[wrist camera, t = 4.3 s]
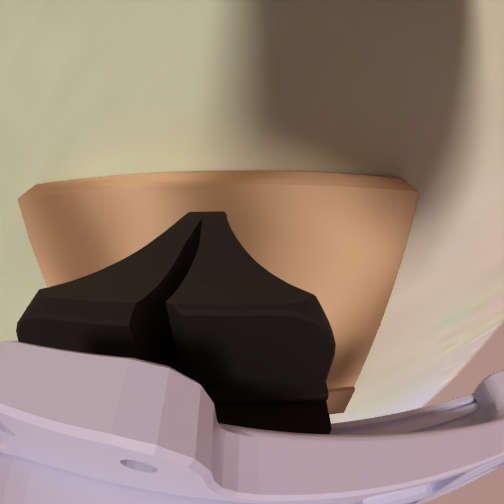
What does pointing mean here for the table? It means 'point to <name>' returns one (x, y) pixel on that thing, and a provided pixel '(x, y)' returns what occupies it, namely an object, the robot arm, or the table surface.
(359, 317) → the oak click plank
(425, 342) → the table surface
